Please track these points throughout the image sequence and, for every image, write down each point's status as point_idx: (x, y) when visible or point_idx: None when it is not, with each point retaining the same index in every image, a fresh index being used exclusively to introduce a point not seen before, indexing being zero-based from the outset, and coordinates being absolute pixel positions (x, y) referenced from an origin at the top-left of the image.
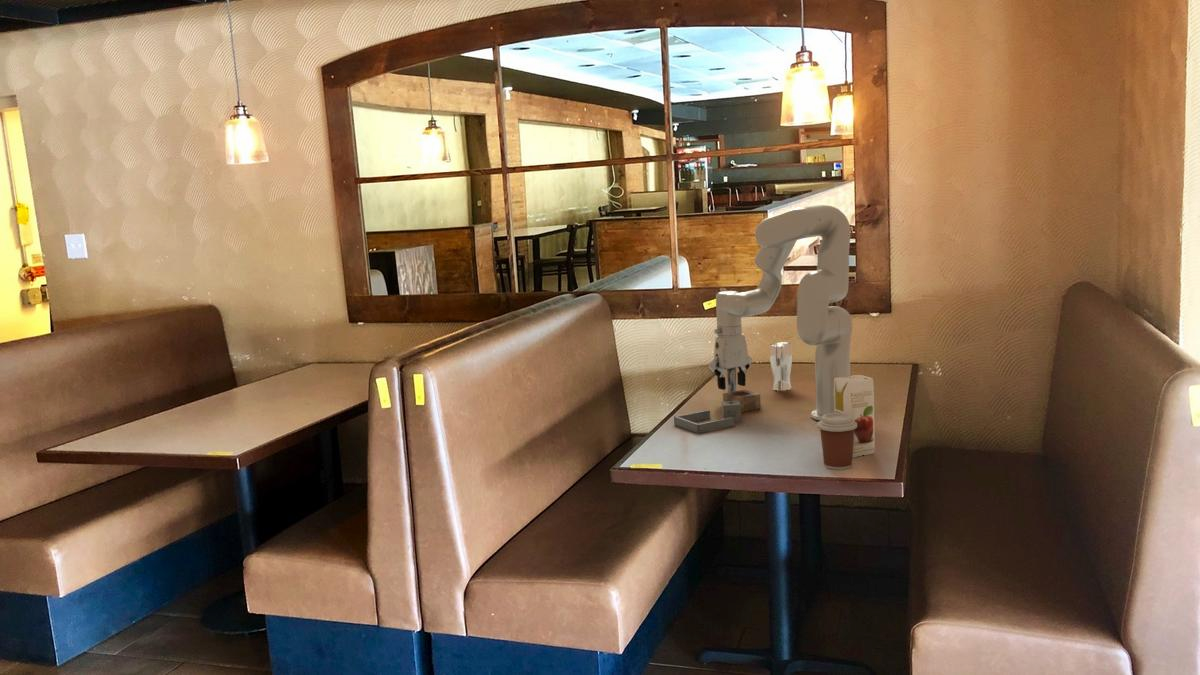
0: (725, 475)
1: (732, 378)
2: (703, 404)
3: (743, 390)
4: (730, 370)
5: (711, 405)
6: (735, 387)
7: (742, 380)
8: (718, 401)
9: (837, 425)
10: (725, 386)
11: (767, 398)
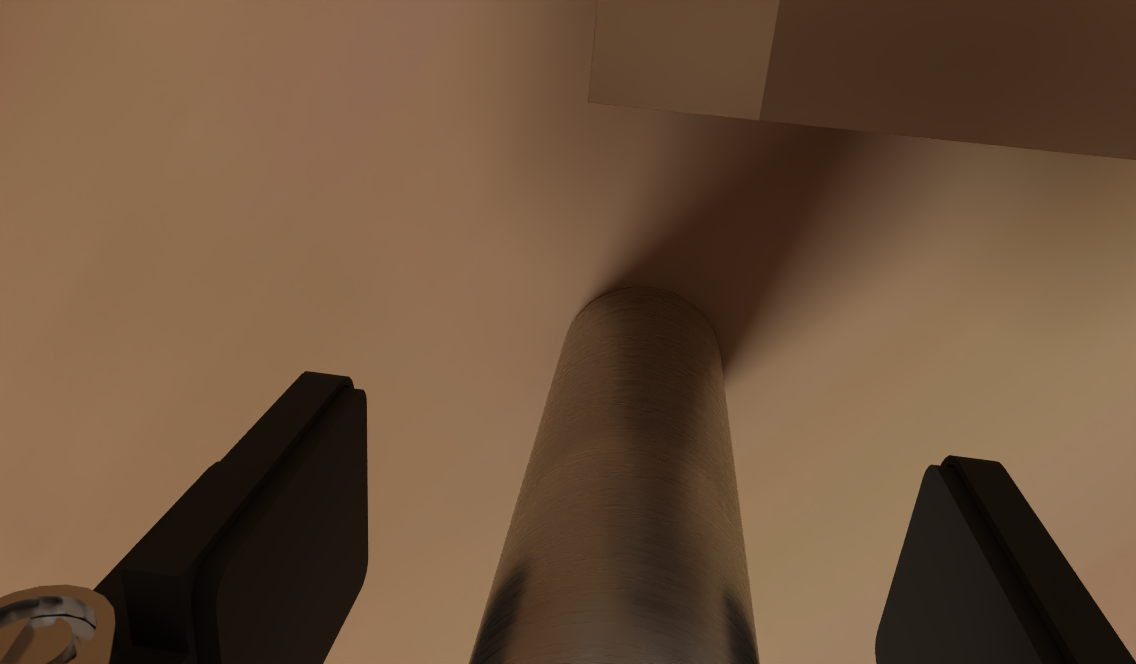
0: None
1: (691, 600)
2: (1090, 575)
3: (682, 22)
4: None
5: (1078, 436)
6: (605, 419)
7: (312, 483)
8: (777, 535)
9: None
10: (958, 497)
11: (41, 66)
